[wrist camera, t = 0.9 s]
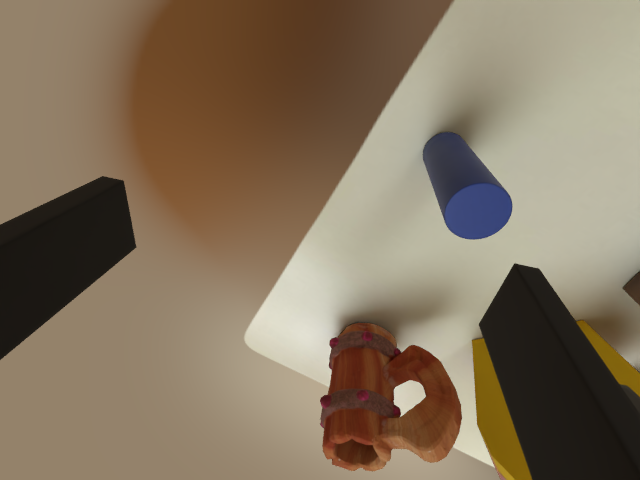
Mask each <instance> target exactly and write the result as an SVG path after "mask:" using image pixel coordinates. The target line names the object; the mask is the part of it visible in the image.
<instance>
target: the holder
mask: <svg viewBox="0 0 640 480" xmlns="http://www.w3.org/2000/svg"><path fill="white" fill-rule="evenodd" d="M623 289H624V290H625V291H626V292H627V293H628V294H629V295H630V296H631V297H632V298H633V299H634V300H635V301H636V302H637V303H638V304H639V305H640V272H639V273H638V274H637V275H636V276H635V277H633V278H632V279H631V280H630V281H629V282H628V283H627V284H626V285H625V286H624V287H623Z"/></svg>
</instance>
